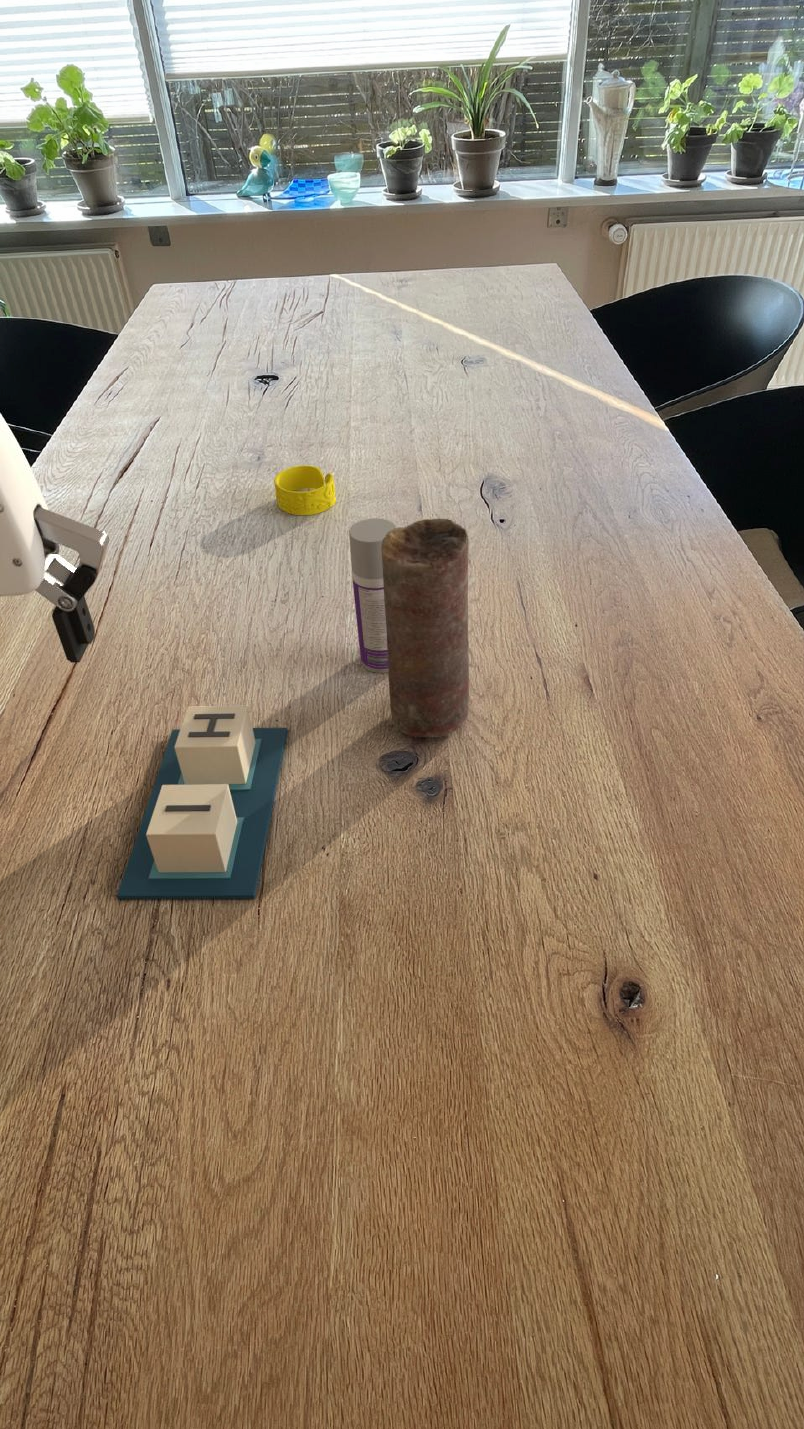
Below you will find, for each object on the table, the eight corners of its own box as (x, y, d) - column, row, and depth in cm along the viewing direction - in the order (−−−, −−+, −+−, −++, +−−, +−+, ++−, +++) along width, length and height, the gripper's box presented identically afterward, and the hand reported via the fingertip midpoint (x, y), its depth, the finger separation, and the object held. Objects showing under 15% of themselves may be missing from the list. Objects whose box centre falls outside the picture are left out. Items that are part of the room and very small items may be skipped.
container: (366, 644, 100) (354, 516, 90) (410, 647, 99) (402, 518, 89) (355, 671, 96) (342, 541, 87) (401, 675, 95) (392, 544, 86)
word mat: (117, 899, 75) (115, 895, 75) (173, 733, 90) (172, 728, 90) (254, 899, 74) (253, 894, 74) (287, 731, 90) (287, 726, 89)
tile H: (184, 784, 84) (173, 746, 81) (197, 743, 88) (187, 705, 85) (246, 784, 84) (237, 745, 81) (255, 742, 88) (247, 704, 85)
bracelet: (306, 521, 121) (302, 498, 119) (265, 503, 125) (261, 480, 123) (347, 499, 125) (344, 476, 123) (305, 482, 129) (302, 460, 127)
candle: (477, 742, 87) (477, 552, 74) (398, 754, 86) (384, 565, 73) (460, 691, 93) (456, 507, 80) (386, 702, 92) (370, 518, 79)
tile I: (158, 872, 76) (145, 833, 73) (173, 822, 81) (161, 783, 78) (225, 872, 76) (215, 833, 73) (237, 821, 80) (228, 783, 77)
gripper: (-279, 436, 50) (-141, 689, 61) (41, 424, 49) (122, 684, 60) (-204, 382, 56) (-91, 622, 67) (83, 370, 55) (151, 617, 66)
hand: (10, 651), depth 63 cm, fingers open, 9 cm apart
